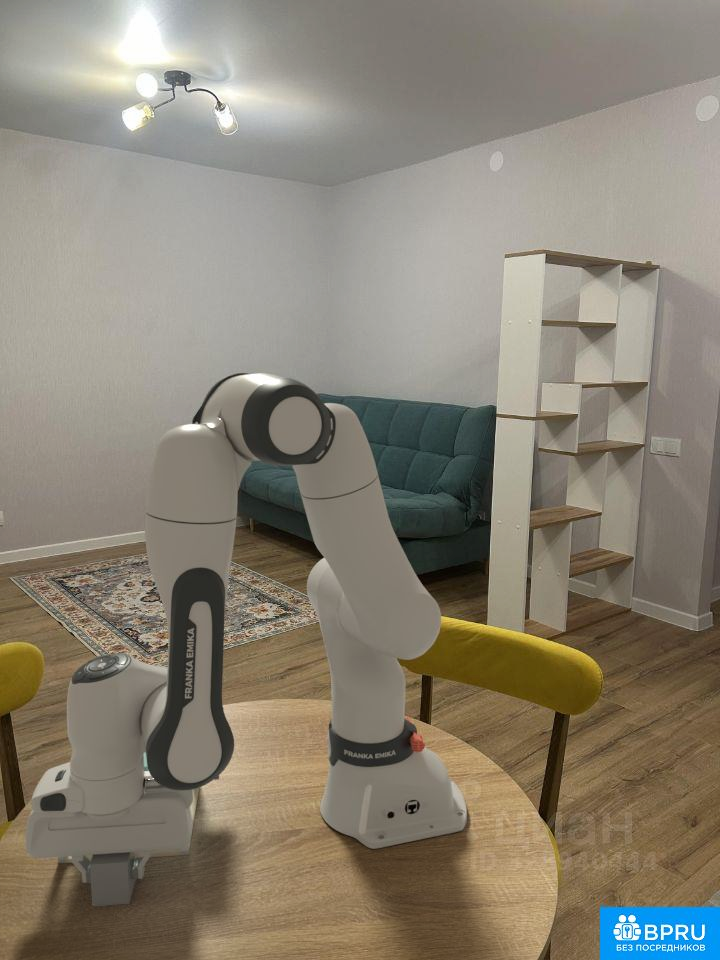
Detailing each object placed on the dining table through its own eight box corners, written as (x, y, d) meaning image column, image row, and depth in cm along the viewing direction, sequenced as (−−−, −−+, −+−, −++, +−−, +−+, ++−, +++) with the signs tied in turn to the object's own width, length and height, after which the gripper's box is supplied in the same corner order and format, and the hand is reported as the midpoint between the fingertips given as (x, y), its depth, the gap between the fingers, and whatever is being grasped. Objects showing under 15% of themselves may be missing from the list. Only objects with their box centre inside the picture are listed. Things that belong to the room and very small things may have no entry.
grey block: (136, 878, 99) (134, 838, 97) (129, 903, 94) (127, 862, 93) (100, 880, 98) (98, 840, 97) (92, 906, 94) (89, 864, 92)
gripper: (194, 762, 97) (197, 855, 100) (33, 771, 95) (40, 866, 97) (189, 791, 91) (192, 889, 94) (17, 801, 89) (25, 901, 91)
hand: (113, 877), depth 96 cm, fingers closed on grey block, 5 cm apart
